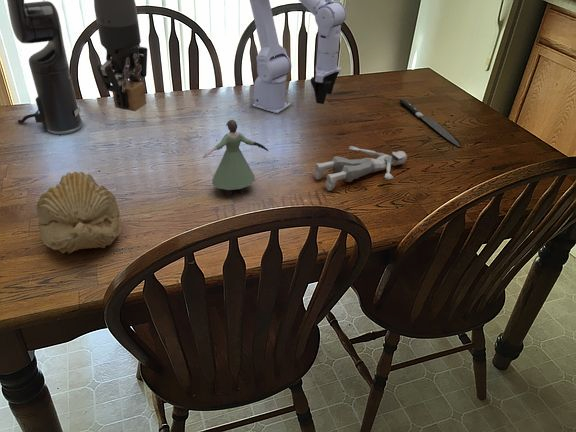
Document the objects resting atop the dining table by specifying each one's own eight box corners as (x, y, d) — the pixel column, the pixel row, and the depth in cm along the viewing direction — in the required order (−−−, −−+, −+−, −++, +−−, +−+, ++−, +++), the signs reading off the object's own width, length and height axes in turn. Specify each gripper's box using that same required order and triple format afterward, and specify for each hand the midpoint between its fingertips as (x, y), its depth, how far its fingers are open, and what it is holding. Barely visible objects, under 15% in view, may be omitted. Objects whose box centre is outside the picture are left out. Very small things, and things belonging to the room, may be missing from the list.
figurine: (340, 203, 116) (425, 179, 125) (342, 185, 112) (429, 162, 122) (304, 167, 128) (384, 148, 138) (305, 150, 125) (387, 131, 134)
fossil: (46, 277, 92) (24, 211, 83) (42, 224, 105) (23, 162, 96) (130, 258, 97) (117, 194, 89) (117, 209, 110) (105, 149, 101)
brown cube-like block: (115, 107, 104) (111, 85, 102) (126, 100, 108) (123, 78, 105) (135, 111, 103) (131, 89, 100) (146, 103, 106) (143, 82, 104)
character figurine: (262, 174, 124) (263, 106, 114) (275, 191, 118) (277, 121, 108) (200, 186, 119) (194, 116, 108) (210, 205, 113) (205, 133, 102)
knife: (466, 148, 141) (467, 144, 140) (454, 149, 140) (456, 144, 139) (407, 101, 165) (409, 97, 164) (397, 101, 163) (398, 97, 163)
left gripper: (111, 32, 89) (126, 120, 99) (154, 13, 99) (164, 94, 110) (76, 26, 90) (94, 113, 101) (122, 8, 101) (134, 88, 112)
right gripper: (335, 61, 129) (330, 110, 137) (348, 45, 140) (343, 91, 148) (309, 57, 130) (306, 105, 138) (324, 41, 142) (320, 87, 150)
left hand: (130, 103), depth 105 cm, fingers closed on brown cube-like block, 4 cm apart
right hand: (323, 98), depth 143 cm, fingers open, 7 cm apart
